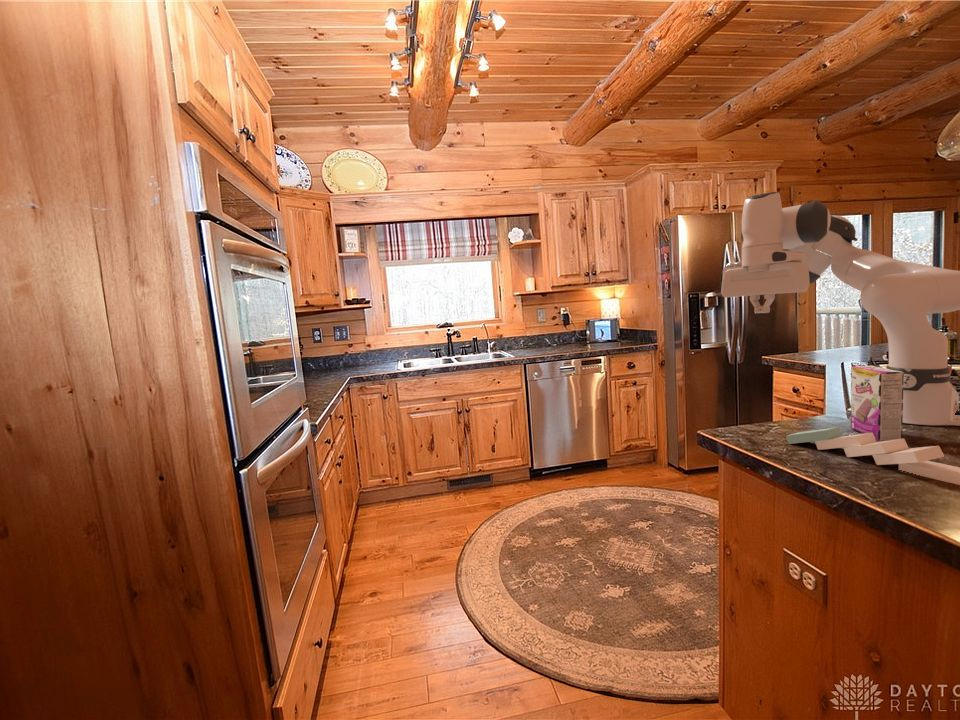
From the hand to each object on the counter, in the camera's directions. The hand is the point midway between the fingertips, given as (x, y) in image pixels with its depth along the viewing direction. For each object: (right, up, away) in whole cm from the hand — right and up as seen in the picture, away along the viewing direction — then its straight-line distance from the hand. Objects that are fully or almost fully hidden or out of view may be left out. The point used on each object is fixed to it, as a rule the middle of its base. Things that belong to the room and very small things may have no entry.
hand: (762, 313), depth 113 cm
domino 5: (+11, -33, -27) cm, 44 cm away
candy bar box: (+24, -31, -6) cm, 39 cm away
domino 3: (+8, -32, -19) cm, 38 cm away
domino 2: (+6, -31, -13) cm, 34 cm away
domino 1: (+3, -31, -7) cm, 32 cm away
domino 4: (+9, -32, -25) cm, 41 cm away
